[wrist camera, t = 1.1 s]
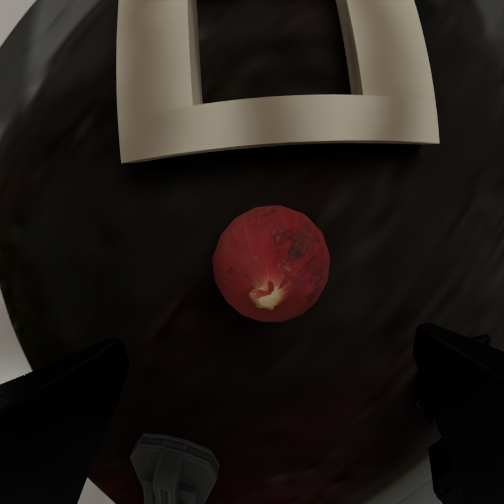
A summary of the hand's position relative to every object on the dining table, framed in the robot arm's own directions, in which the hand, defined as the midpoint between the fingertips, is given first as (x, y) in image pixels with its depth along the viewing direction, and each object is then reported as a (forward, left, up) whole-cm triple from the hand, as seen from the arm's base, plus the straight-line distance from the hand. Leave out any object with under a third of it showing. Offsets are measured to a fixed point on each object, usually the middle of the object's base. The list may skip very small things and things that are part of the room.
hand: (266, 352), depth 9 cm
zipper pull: (+13, +30, -12) cm, 35 cm away
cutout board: (-1, -13, -11) cm, 17 cm away
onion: (0, 0, -12) cm, 12 cm away
